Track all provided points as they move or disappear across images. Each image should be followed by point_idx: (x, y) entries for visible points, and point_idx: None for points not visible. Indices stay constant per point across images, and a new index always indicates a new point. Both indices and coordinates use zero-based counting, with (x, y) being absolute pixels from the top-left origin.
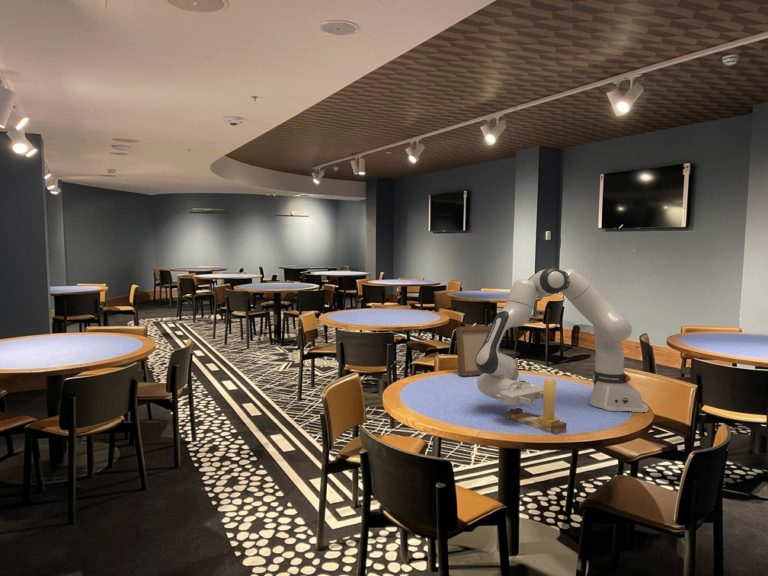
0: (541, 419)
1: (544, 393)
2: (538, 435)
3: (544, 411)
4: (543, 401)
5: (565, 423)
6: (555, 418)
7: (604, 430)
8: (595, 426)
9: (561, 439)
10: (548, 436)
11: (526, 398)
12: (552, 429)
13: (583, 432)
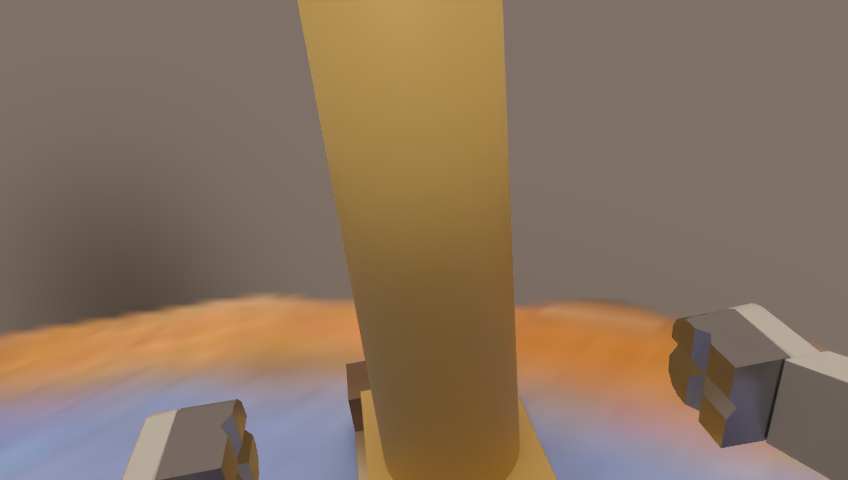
0: (546, 459)
1: (507, 133)
2: (669, 410)
3: (516, 362)
4: (505, 275)
5: (360, 362)
6: (373, 424)
7: (88, 375)
8: (20, 449)
9: (525, 325)
10: (588, 378)
11: (811, 361)
12: None
13: (258, 379)
